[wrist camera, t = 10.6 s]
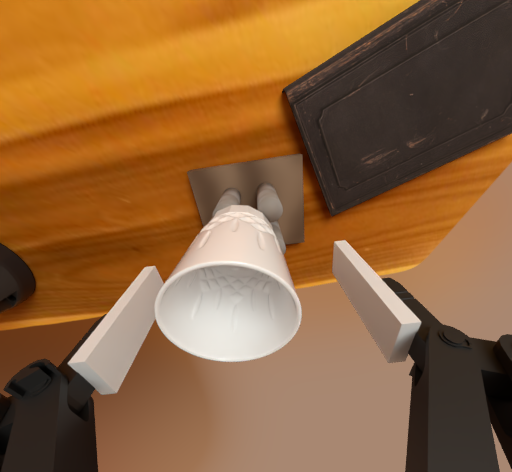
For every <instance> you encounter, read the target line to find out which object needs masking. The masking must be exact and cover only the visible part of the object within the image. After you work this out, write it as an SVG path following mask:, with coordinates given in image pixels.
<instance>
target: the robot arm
mask: <svg viewBox="0 0 512 472" xmlns="http://www.w3.org/2000/svg"><path fill="white" fill-rule="evenodd" d="M332 273H333V274H334V276H335V277H336V279H337V281H338V282H339V284H340V285H341V287H342V289H343V290H344V292H345V293H346V295H347V296H348V298H349V300H350V302H351V303H352V305H353V307H354V308H355V310H356V311H357V313H358V315H359V316H360V318H361V320H362V321H363V323H364V324H365V326H366V328H367V329H368V331H369V332H370V334H371V336H372V337H373V339H374V340H375V342H376V344H377V345H378V347H379V349H380V350H381V352H382V354H383V355H384V357H385V358H386V360H387V362H388V363H393V362H402V361H405V360H406V358H407V356H408V354H409V355H410V356H411V358H412V359H413V360H414V362H415V363H414V365H413V367H412V369H411V371H410V374H409V375H411V376H412V389H411V403H410V416H409V429H408V444H407V457H406V471H405V472H500V471H499V465H498V460H497V454H496V450H495V444H494V438H493V433H492V428H491V424H492V426H493V429H494V431H495V433H496V435H497V438H498V440H499V442H500V444H501V446H502V449H503V451H504V453H505V455H506V458H507V460H508V462H509V464H510V467H511V469H512V335H508V334H507V335H503V336H501V337H500V338H499V340H498V341H497V342H494V341H488V340H482V339H476V338H470V337H468V336H467V335H465V334H464V333H463V332H461V331H460V330H457V329H455V328H453V327H450V326H446V325H443V324H441V323H440V322H439V321H438V320H437V319H436V318H435V317H434V316H433V315H432V314H431V313H430V312H429V311H428V310H427V309H426V308H425V307H424V306H423V305H422V304H420V302H418V301H417V300H416V299H414V297H413V296H412V295H411V294H410V293H409V292H408V291H407V290H406V289H405V288H404V287H403V286H402V285H401V284H400V283H398V282H396V281H395V280H393V279H391V278H383V279H381V278H380V277H379V276H378V275H377V274H376V273H375V272H374V271H373V270H372V268H371V267H370V266H369V265H368V264H367V263H366V262H365V261H364V260H363V259H362V258H361V257H360V256H359V255H358V253H357V252H356V251H355V250H354V249H353V248H352V247H351V246H350V245H349V244H348V243H347V242H346V241H345V240H343V241H335V242H334V253H333V268H332ZM163 285H164V283H163V281H162V279H161V277H160V275H159V273H158V271H157V269H156V267H155V266H151V267H145V268H144V269H143V270H142V272H141V273H140V274H139V275H138V277H137V278H136V279H135V280H134V282H133V283H132V284H131V285H130V286H129V288H128V289H127V290H126V291H125V293H124V294H123V295H122V296H121V298H120V299H119V300H118V301H117V303H116V304H115V305H114V306H113V308H112V309H111V310H110V311H109V313H108V314H105V315H104V316H102V317H101V318H100V319H99V320H98V321H96V322H95V323H94V325H93V326H92V327H91V328H90V330H89V331H88V333H86V334H85V336H84V337H83V338H82V340H80V341H79V343H78V344H77V345H76V346H75V347H74V349H73V350H72V351H71V352H70V354H69V355H68V356H67V357H66V358H65V359H64V361H63V362H62V363H61V364H60V365H59V367H58V368H57V367H56V366H55V365H54V364H52V363H51V362H50V361H49V360H47V359H41V360H37V361H35V362H33V363H31V364H29V365H28V366H26V367H25V368H23V369H22V370H20V371H19V372H18V373H17V374H16V375H15V376H13V377H12V379H11V380H10V381H9V382H8V383H7V385H6V386H5V388H4V391H6V392H8V393H9V394H11V395H12V396H10V397H8V398H7V397H5V396H4V395H2V394H0V472H98V464H97V448H96V432H95V417H94V402H93V399H92V397H91V394H92V393H93V391H94V390H95V389H96V390H97V391H98V392H99V393H100V394H101V395H103V394H113V393H117V391H118V389H119V387H120V385H121V384H122V381H123V380H124V378H125V376H126V374H127V372H128V370H129V368H130V366H131V364H132V362H133V360H134V359H135V357H136V354H137V353H138V351H139V349H140V347H141V345H142V343H143V341H144V339H145V337H146V335H147V333H148V332H149V330H150V328H151V326H152V324H153V322H154V320H155V312H154V306H155V300H156V297H157V295H158V292H159V291H160V289H161V287H162V286H163ZM34 289H35V281H34V277H33V275H32V273H31V271H30V270H29V268H28V267H27V265H26V264H25V263H24V262H23V261H22V260H21V259H20V258H19V257H18V256H17V255H16V254H15V253H13V252H12V251H11V250H9V249H8V248H6V247H5V246H3V245H2V244H0V313H2V312H5V311H7V310H9V309H12V308H13V307H15V306H17V305H18V304H20V303H21V302H23V301H24V300H25V299H27V298H28V297H30V296H31V295H32V293H33V292H34Z"/></svg>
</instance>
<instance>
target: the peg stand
mask: <svg viewBox="0 0 512 472" xmlns="http://www.w3.org/2000/svg"><path fill="white" fill-rule="evenodd" d="M187 174H188V177H189V180H190V184H191V187H192V190H193V194H194V197H195V200H196V204H197V207H198V210H199V214H200V217H201V220H202V224H203V227H204V226H205V225H207V223H208V222H209V221H210V220H211V218H212V217H213V216H214V215H215V213H216V212H217V211H219V210H221V209H224V208H226V207H228V206H231V205H248V206H250V207H252V208H254V209H256V210H258V211H260V212H262V213H263V214H264V215H265V217H266V218H267V219H268V221H269V222H270V223H271V225H272V228H273V231H274V233H275V235H276V237H277V239H278V242H279V245H280V248H281V250H282V252H283V255H284V254H285V251H286V246H285V245H286V244H294V243H301V242H304V203H303V155H302V154H294V155H287V156H280V157H274V158H267V159H261V160H254V161H247V162H241V163H234V164H228V165H221V166H214V167H208V168H201V169H195V170H190V171H188V172H187Z"/></svg>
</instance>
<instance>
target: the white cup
mask: <svg viewBox="0 0 512 472" xmlns="http://www.w3.org/2000/svg"><path fill="white" fill-rule="evenodd" d="M154 312H155V318H156V321H157V324H158V326H159V328H160V330H161V331H162V332H163V334H164V335H165V336H166V337H167V338H168V339H169V340H170V341H171V342H172V343H173V344H175V345H176V346H177V347H179V348H181V349H182V350H184V351H186V352H188V353H190V354H192V355H195V356H198V357H201V358H204V359H208V360H214V361H221V362H242V361H249V360H254V359H258V358H261V357H264V356H267V355H269V354H271V353H274V352H276V351H277V350H279V349H281V348H282V347H283V346H285V345H286V344H287V343H288V342H289V341H290V340H291V339H292V338H293V337H294V335H295V334H296V332H297V330H298V328H299V326H300V323H301V317H302V311H301V304H300V301H299V298H298V295H297V293H296V290H295V287H294V284H293V281H292V278H291V275H290V272H289V269H288V267H287V264H286V261H285V258H284V255H283V252H282V250H281V248H280V245H279V242H278V239H277V237H276V235H275V233H274V231H273V228H272V225H271V223H270V222H269V221H268V219H267V218H266V217H265V215H264V214H263V213H262V212H260V211H258V210H256V209H254V208H252V207H250V206H248V205H231V206H228V207H226V208H224V209H221V210H219V211H217V212H216V213H215V215H214V216H213V217H212V218H211V220H210V221H209V222H208V223H207V225H205V226H204V227H203V229H202V230H201V232H200V233H199V234H198V235H197V237H196V238H195V240H194V241H193V242H192V244H191V245H190V247H189V248H188V250H187V251H186V253H185V254H184V256H183V257H182V259H181V260H180V261H179V263H178V264H177V266H176V267H175V269H174V270H173V272H172V273H171V275H170V276H169V277H168V279H167V280H166V282H165V283H164V285H163V286H162V287H161V289H160V291H159V292H158V295H157V297H156V300H155V306H154Z"/></svg>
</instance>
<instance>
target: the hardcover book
mask: <svg viewBox="0 0 512 472" xmlns="http://www.w3.org/2000/svg"><path fill="white" fill-rule="evenodd" d="M283 92H285V93H286V96H287V98H288V101H289V104H290V106H291V109H292V112H293V114H294V117H295V120H296V122H297V125H298V128H299V131H300V133H301V136H302V139H303V141H304V144H305V147H306V150H307V152H308V155H309V158H310V160H311V163H312V166H313V168H314V171H315V174H316V177H317V179H318V182H319V185H320V187H321V190H322V193H323V196H324V198H325V201H326V204H327V206H328V209H329V212H330V214H331V216H334V215H336V214H338V213H340V212H342V211H345V210H347V209H349V208H351V207H353V206H355V205H358V204H360V203H362V202H364V201H366V200H368V199H371V198H373V197H375V196H377V195H379V194H381V193H384V192H386V191H388V190H390V189H392V188H394V187H396V186H399V185H401V184H403V183H405V182H407V181H409V180H412V179H414V178H416V177H418V176H420V175H422V174H425V173H427V172H429V171H431V170H433V169H435V168H438V167H440V166H442V165H444V164H446V163H448V162H451V161H453V160H455V159H457V158H459V157H461V156H464V155H466V154H468V153H470V152H472V151H474V150H477V149H479V148H481V147H483V146H485V145H487V144H490V143H492V142H494V141H496V140H498V139H500V138H502V137H505V136H507V135H509V134H511V133H512V0H420V1H418V2H417V3H415V4H414V5H412V6H411V7H409V8H408V9H406V10H405V11H403V12H401V13H400V14H398V15H397V16H395V17H394V18H392V19H391V20H389V21H387V22H386V23H384V24H383V25H381V26H380V27H378V28H377V29H375V30H374V31H372V32H370V33H369V34H367V35H366V36H364V37H363V38H361V39H360V40H358V41H356V42H355V43H353V44H352V45H350V46H349V47H347V48H346V49H344V50H343V51H341V52H339V53H338V54H336V55H335V56H333V57H332V58H330V59H329V60H327V61H326V62H324V63H322V64H321V65H319V66H318V67H316V68H315V69H313V70H312V71H310V72H308V73H307V74H305V75H304V76H302V77H301V78H299V79H298V80H296V81H295V82H293V83H291V84H290V85H288V86H287V87H285V88H284V89H283V91H282V93H283Z"/></svg>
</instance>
